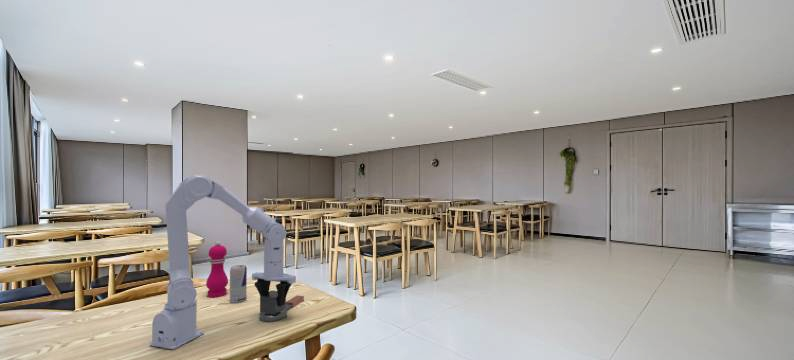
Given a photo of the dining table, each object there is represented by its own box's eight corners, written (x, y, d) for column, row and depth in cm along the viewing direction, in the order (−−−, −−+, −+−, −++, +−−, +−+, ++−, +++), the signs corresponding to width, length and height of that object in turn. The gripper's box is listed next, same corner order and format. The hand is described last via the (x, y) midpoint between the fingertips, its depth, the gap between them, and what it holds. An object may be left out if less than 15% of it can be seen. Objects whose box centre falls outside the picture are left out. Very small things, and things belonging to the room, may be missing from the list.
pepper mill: (208, 292, 125) (209, 240, 125) (229, 290, 127) (230, 239, 127) (203, 298, 118) (204, 243, 118) (225, 296, 120) (226, 242, 120)
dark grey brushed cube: (275, 314, 99) (275, 297, 99) (259, 312, 100) (260, 295, 100) (285, 307, 104) (285, 291, 104) (271, 305, 105) (271, 290, 105)
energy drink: (249, 298, 119) (249, 265, 119) (240, 303, 113) (241, 268, 113) (235, 297, 119) (235, 264, 119) (226, 302, 114) (226, 268, 114)
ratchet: (276, 323, 97) (276, 308, 97) (253, 320, 99) (253, 305, 99) (310, 301, 116) (310, 288, 116) (290, 299, 118) (290, 286, 118)
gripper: (301, 259, 104) (300, 302, 104) (262, 256, 108) (261, 297, 108) (288, 264, 97) (288, 310, 97) (247, 261, 101) (246, 305, 101)
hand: (273, 304), depth 102 cm, fingers closed on dark grey brushed cube, 5 cm apart
